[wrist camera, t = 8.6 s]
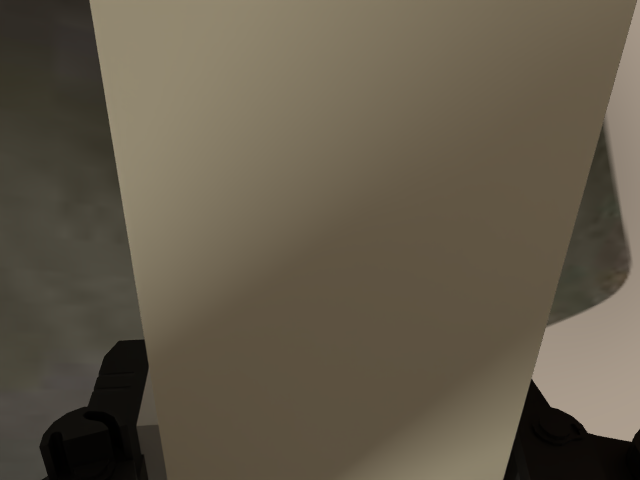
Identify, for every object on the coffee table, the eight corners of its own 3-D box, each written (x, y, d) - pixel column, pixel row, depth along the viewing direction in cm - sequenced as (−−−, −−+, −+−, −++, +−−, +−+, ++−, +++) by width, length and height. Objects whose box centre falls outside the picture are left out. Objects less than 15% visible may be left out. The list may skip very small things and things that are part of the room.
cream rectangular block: (170, -254, 11) (-61, -919, 3) (402, -237, 12) (839, -725, 3) (218, 346, 19) (200, 688, 10) (358, 337, 20) (454, 651, 11)
